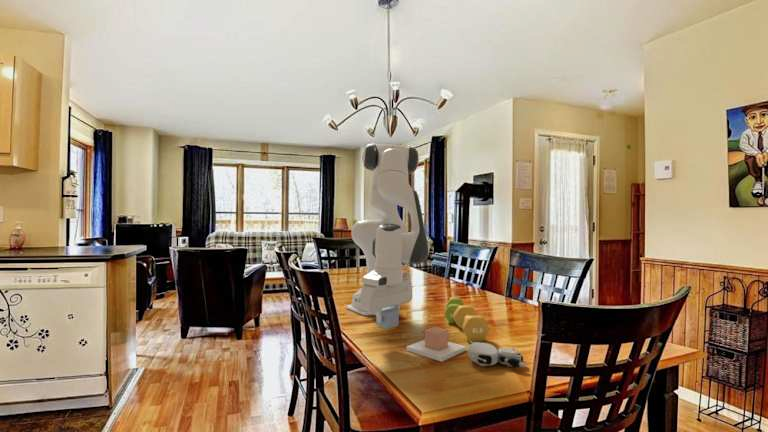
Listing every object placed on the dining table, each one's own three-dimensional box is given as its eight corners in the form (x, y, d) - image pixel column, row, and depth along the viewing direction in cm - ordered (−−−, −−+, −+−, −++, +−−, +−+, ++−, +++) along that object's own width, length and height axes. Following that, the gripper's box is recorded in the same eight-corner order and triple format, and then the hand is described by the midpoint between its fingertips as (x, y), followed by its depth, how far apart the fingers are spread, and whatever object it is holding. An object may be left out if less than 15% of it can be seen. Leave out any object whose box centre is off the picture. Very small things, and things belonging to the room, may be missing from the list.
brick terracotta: (424, 346, 120) (425, 329, 120) (434, 342, 123) (434, 326, 123) (438, 350, 116) (438, 333, 116) (447, 346, 120) (448, 329, 120)
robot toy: (518, 360, 115) (466, 353, 118) (520, 345, 115) (467, 338, 117) (526, 377, 103) (468, 369, 105) (527, 360, 103) (469, 352, 105)
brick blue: (376, 325, 123) (376, 309, 123) (387, 321, 126) (387, 306, 126) (387, 328, 119) (387, 312, 119) (398, 325, 123) (398, 309, 123)
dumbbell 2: (490, 343, 128) (491, 318, 128) (463, 342, 128) (463, 317, 128) (476, 326, 147) (476, 304, 147) (452, 326, 147) (452, 304, 147)
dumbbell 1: (446, 313, 166) (446, 296, 166) (465, 314, 164) (465, 297, 164) (443, 323, 150) (443, 305, 150) (464, 325, 148) (465, 306, 148)
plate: (406, 350, 120) (406, 346, 120) (431, 340, 129) (431, 336, 129) (441, 361, 111) (441, 357, 111) (466, 350, 120) (466, 346, 120)
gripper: (402, 271, 132) (401, 311, 133) (357, 278, 117) (356, 324, 118) (417, 273, 128) (416, 315, 128) (372, 281, 113) (371, 329, 113)
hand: (387, 320), depth 123 cm, fingers closed on brick blue, 5 cm apart
